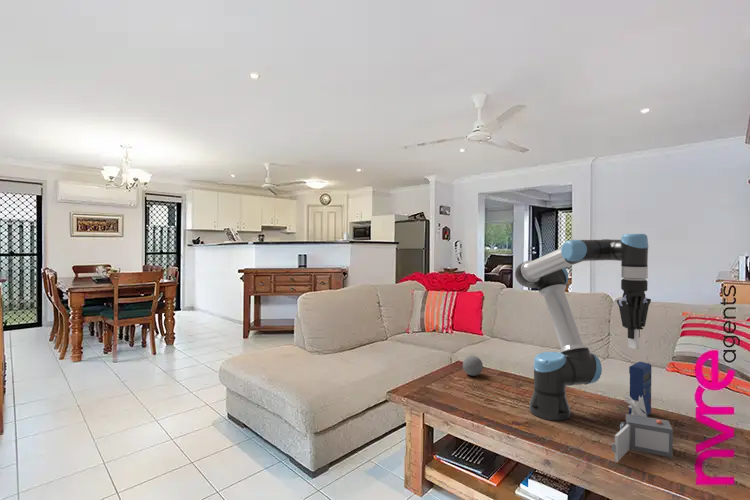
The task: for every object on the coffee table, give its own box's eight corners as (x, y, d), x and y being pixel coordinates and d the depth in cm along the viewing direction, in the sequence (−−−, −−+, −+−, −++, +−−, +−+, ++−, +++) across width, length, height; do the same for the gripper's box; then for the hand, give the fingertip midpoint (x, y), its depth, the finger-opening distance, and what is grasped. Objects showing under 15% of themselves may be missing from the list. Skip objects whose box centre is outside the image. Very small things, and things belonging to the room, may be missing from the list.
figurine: (629, 417, 154) (629, 387, 154) (652, 425, 148) (652, 393, 148) (617, 425, 148) (617, 393, 147) (640, 433, 142) (640, 400, 141)
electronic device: (643, 420, 151) (643, 369, 151) (628, 416, 155) (628, 365, 155) (652, 414, 157) (652, 364, 157) (637, 409, 161) (637, 360, 161)
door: (624, 446, 132) (624, 422, 132) (630, 448, 131) (631, 424, 130) (611, 459, 124) (611, 434, 124) (618, 462, 123) (618, 436, 123)
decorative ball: (463, 378, 199) (463, 358, 199) (462, 371, 209) (462, 352, 209) (483, 379, 198) (483, 359, 197) (481, 372, 208) (481, 353, 207)
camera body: (621, 447, 132) (621, 418, 132) (619, 438, 139) (619, 410, 138) (672, 457, 126) (672, 427, 126) (668, 447, 132) (668, 418, 132)
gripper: (638, 277, 140) (637, 343, 141) (609, 278, 136) (609, 346, 137) (659, 279, 133) (658, 348, 134) (629, 280, 129) (629, 352, 130)
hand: (633, 347), depth 135 cm, fingers closed
